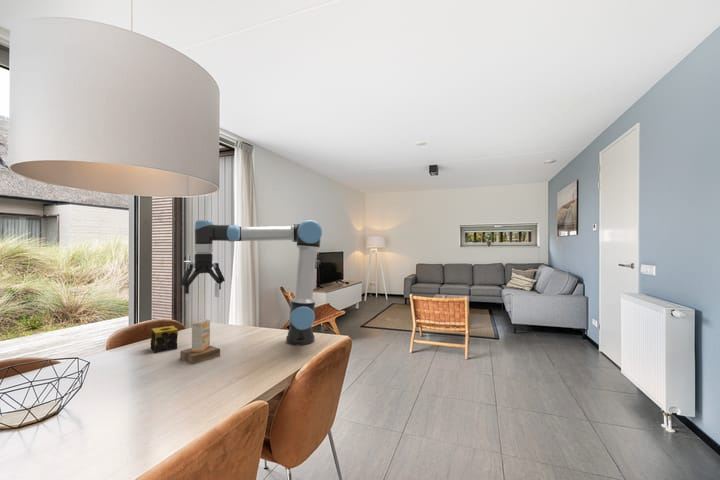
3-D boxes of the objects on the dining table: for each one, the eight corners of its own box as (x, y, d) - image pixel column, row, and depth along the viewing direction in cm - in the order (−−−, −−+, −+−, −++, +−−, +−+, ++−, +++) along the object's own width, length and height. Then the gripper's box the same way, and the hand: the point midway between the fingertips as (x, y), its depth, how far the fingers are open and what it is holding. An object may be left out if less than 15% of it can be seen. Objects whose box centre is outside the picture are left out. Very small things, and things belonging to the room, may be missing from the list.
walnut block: (220, 357, 144) (220, 348, 145) (194, 365, 135) (194, 356, 135) (206, 352, 151) (206, 344, 151) (180, 359, 141) (180, 350, 141)
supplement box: (202, 352, 140) (202, 323, 140) (191, 352, 139) (191, 323, 140) (210, 346, 148) (210, 318, 148) (200, 346, 148) (200, 319, 148)
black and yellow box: (150, 348, 155) (150, 328, 156) (173, 344, 162) (173, 325, 162) (153, 353, 148) (154, 332, 148) (177, 349, 155) (178, 329, 155)
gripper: (223, 252, 158) (223, 294, 157) (171, 253, 137) (171, 301, 137) (232, 252, 154) (232, 295, 153) (180, 253, 133) (179, 303, 132)
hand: (203, 298), depth 145 cm, fingers open, 13 cm apart
